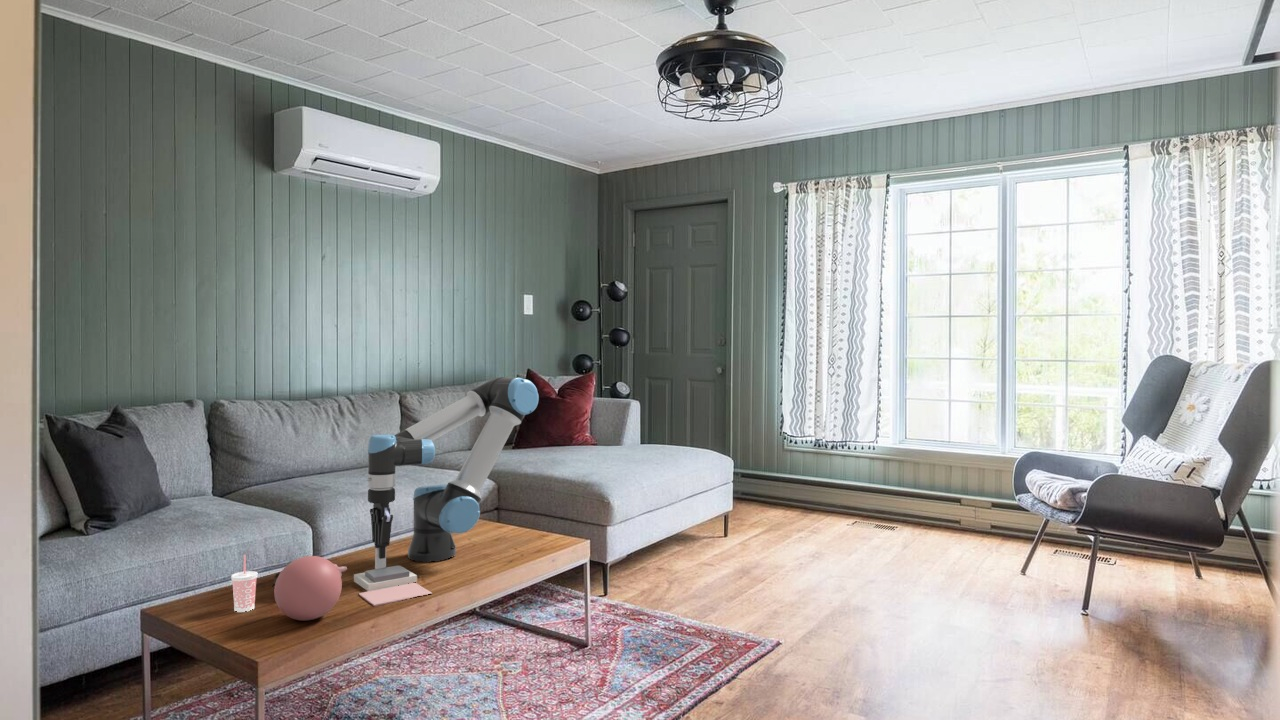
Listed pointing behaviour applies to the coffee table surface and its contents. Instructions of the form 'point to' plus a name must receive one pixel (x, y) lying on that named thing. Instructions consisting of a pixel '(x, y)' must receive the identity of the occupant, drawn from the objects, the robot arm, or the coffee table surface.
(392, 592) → the felt mat
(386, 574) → the coaster
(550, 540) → the coffee table surface
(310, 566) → the balloon
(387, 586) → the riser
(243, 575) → the beverage cup
